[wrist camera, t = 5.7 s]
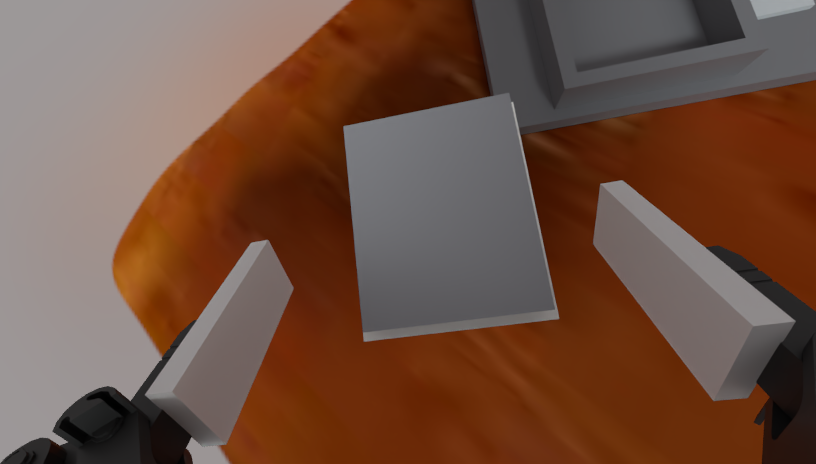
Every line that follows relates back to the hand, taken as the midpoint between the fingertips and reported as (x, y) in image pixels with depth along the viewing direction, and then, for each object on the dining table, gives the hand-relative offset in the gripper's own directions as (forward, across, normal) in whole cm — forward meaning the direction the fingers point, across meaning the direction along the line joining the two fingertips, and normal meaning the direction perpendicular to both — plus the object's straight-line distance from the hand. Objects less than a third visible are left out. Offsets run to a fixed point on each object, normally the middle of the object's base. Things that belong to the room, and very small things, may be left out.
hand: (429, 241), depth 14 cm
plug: (+5, +1, -5) cm, 7 cm away
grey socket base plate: (+14, +17, +4) cm, 22 cm away
